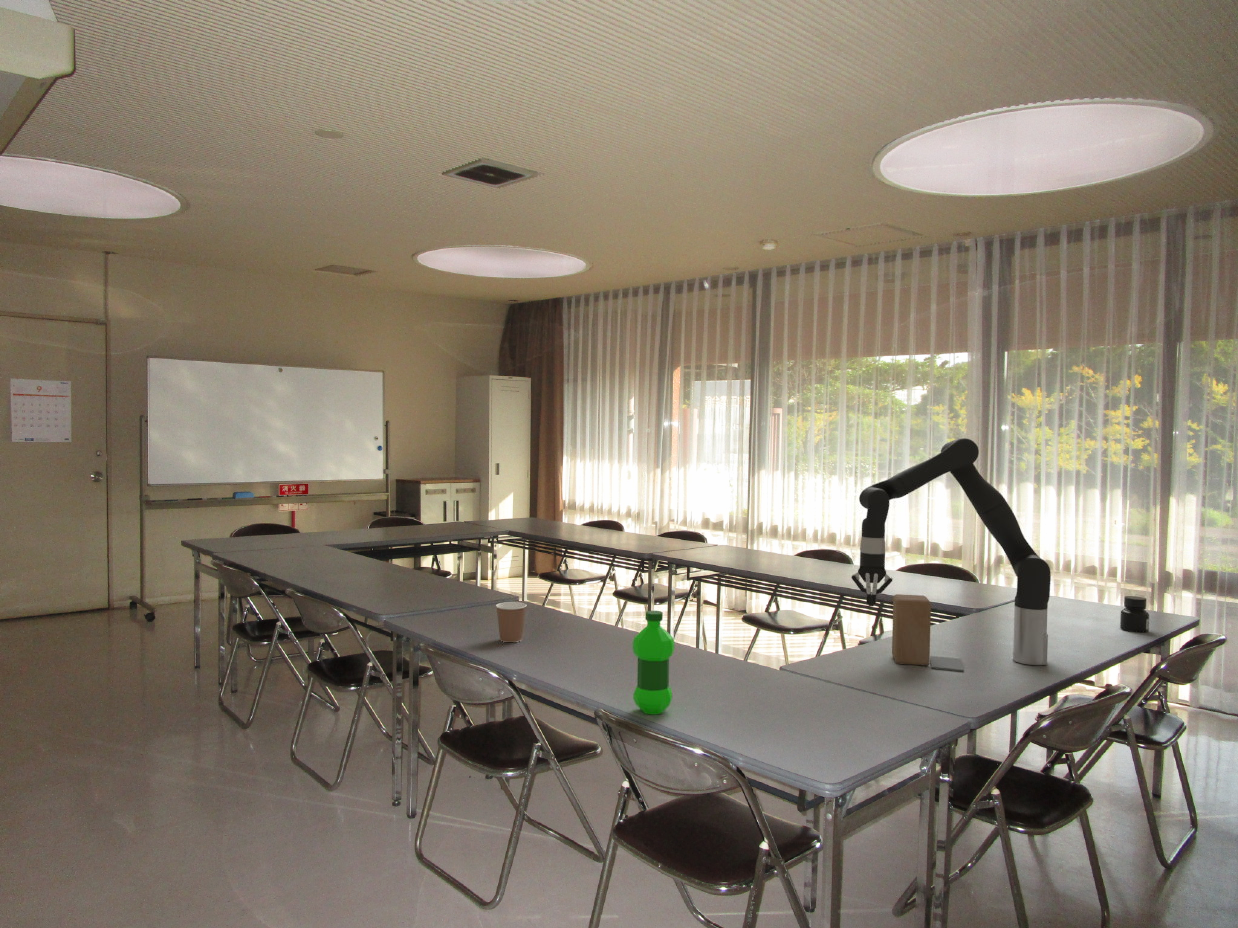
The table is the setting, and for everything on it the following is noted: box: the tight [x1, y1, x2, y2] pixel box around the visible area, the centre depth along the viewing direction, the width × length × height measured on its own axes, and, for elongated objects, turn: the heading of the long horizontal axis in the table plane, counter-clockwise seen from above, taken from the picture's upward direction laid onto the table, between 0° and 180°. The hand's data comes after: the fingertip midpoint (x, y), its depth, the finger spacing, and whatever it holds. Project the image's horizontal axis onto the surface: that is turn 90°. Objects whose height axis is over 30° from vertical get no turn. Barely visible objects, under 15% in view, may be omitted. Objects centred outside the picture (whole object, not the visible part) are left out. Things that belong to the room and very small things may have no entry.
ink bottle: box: [1119, 595, 1150, 634], centre depth 300 cm, size 10×9×12 cm
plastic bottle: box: [632, 610, 675, 715], centre depth 207 cm, size 10×10×25 cm
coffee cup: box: [495, 601, 528, 643], centre depth 275 cm, size 10×10×12 cm
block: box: [891, 593, 932, 666], centre depth 255 cm, size 10×10×20 cm
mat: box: [930, 655, 964, 672], centre depth 252 cm, size 9×13×1 cm
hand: (871, 605), depth 259 cm, fingers closed
